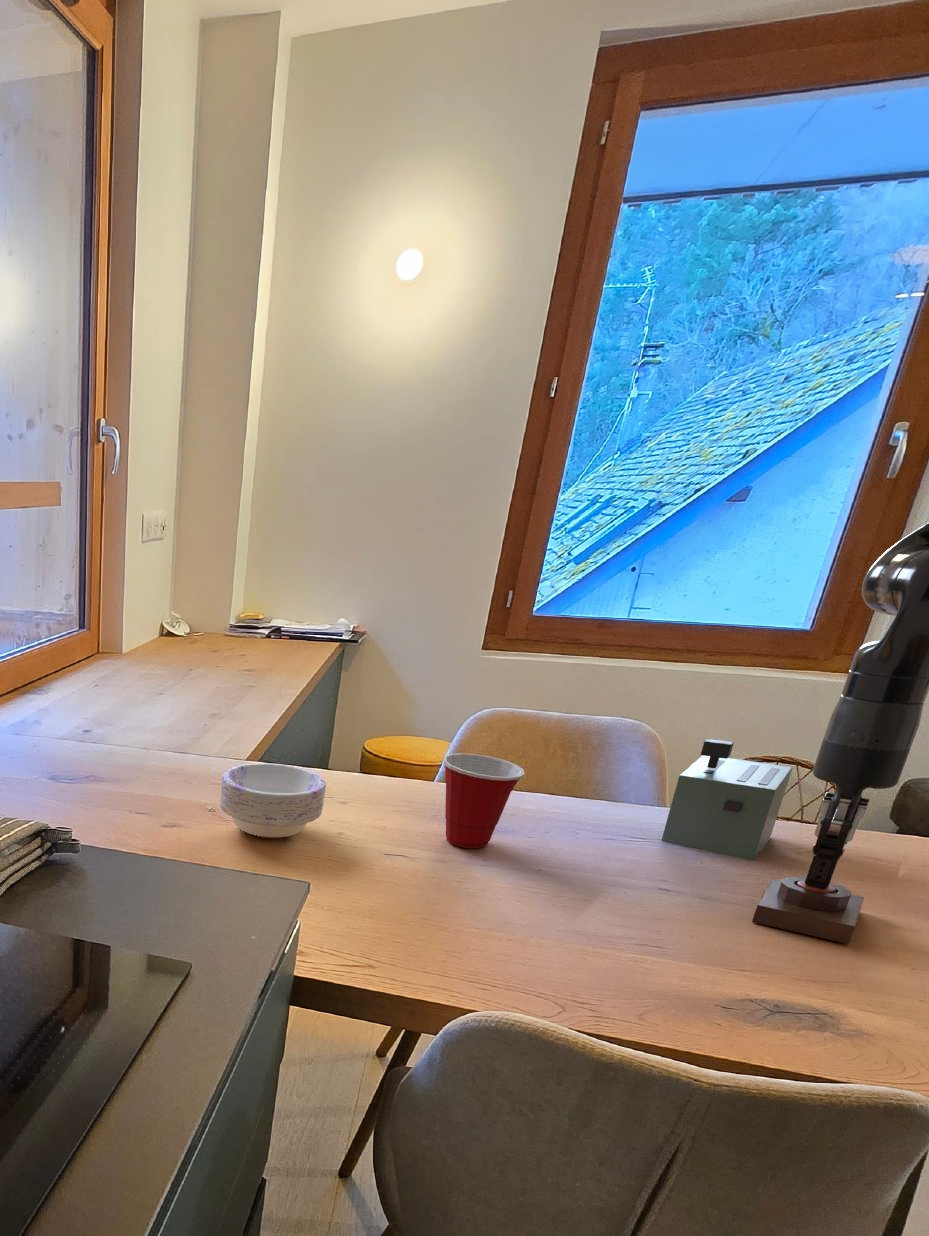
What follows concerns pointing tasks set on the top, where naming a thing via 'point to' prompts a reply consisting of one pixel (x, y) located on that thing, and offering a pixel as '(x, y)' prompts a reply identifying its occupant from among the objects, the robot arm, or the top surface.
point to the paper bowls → (271, 798)
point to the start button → (829, 889)
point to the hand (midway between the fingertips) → (816, 885)
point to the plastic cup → (476, 796)
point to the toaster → (726, 806)
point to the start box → (809, 910)
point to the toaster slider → (716, 751)
